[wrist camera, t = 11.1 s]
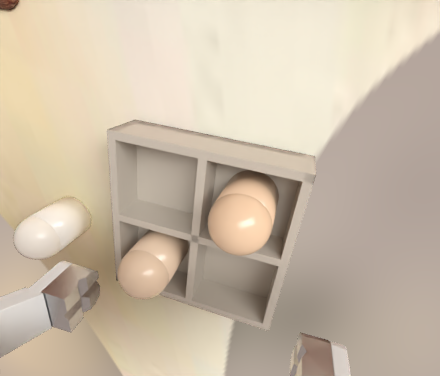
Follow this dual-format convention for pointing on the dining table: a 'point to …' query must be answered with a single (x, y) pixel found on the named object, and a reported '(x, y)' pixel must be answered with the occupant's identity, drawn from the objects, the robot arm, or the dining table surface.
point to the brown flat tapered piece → (8, 4)
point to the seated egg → (151, 264)
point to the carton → (205, 212)
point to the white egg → (51, 228)
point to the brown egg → (244, 213)
